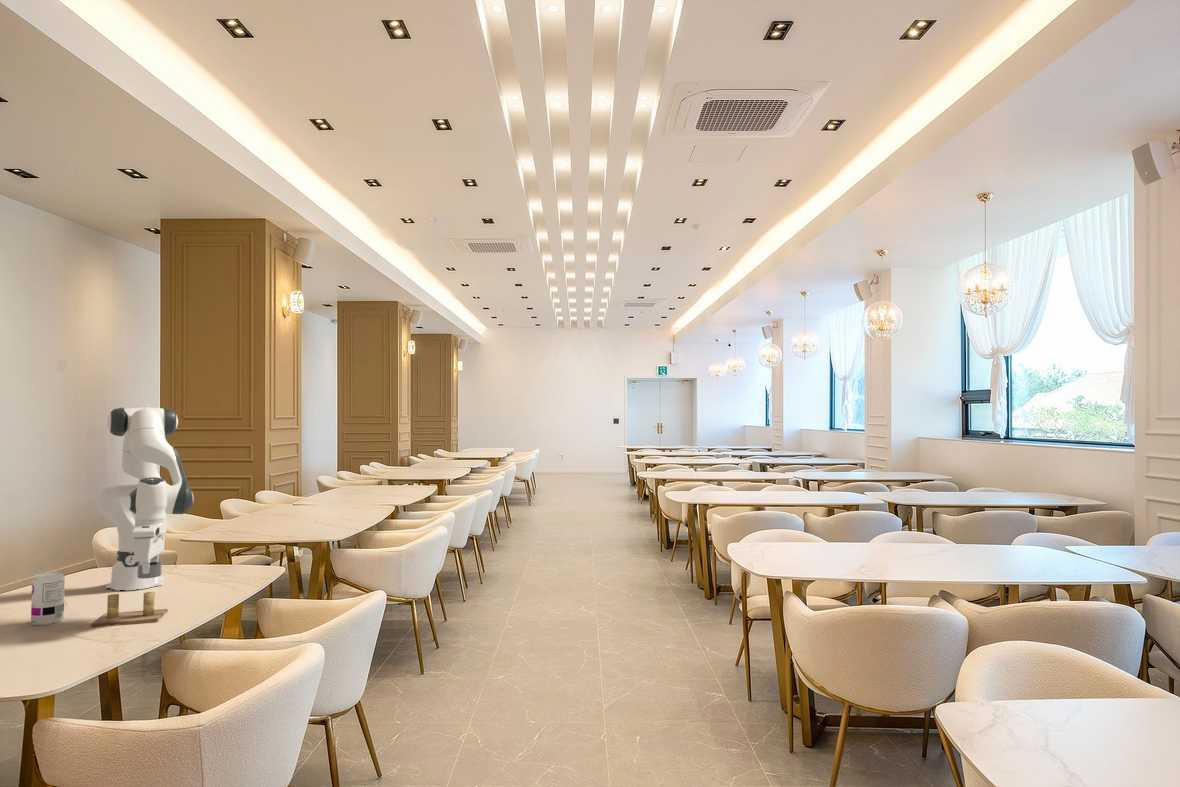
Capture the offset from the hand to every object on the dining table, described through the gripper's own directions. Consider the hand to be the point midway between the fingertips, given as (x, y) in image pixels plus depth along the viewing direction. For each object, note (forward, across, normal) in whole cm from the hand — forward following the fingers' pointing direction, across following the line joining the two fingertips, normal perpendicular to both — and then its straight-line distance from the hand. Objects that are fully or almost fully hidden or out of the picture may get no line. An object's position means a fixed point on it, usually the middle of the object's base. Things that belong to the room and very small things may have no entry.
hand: (149, 571), depth 227 cm
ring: (+2, 0, 0) cm, 2 cm away
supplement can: (+15, -4, -29) cm, 33 cm away
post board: (+15, 0, -5) cm, 16 cm away
